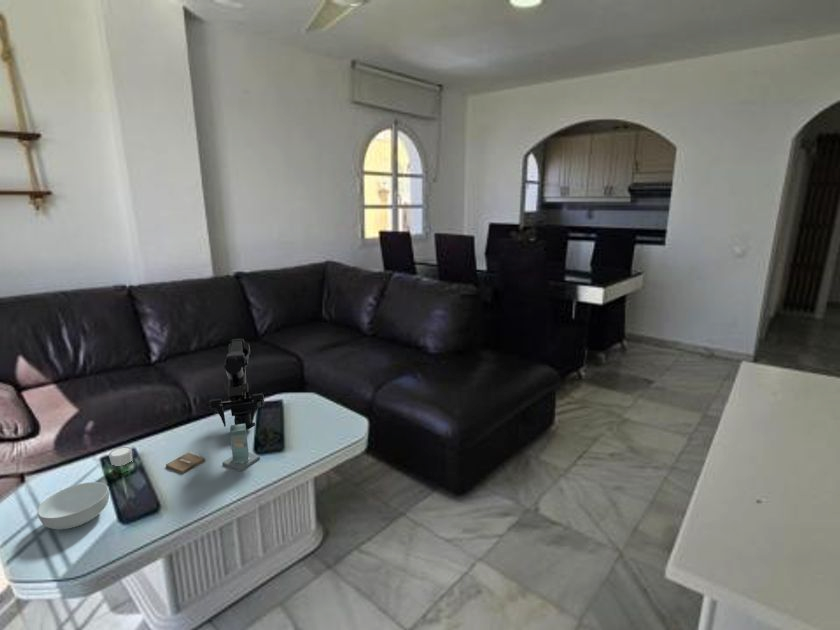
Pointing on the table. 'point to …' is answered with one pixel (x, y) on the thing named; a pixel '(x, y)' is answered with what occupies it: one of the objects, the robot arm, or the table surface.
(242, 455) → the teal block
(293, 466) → the table surface
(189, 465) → the walnut tile
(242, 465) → the slate tile
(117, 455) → the white cylinder
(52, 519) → the cereal bowl
